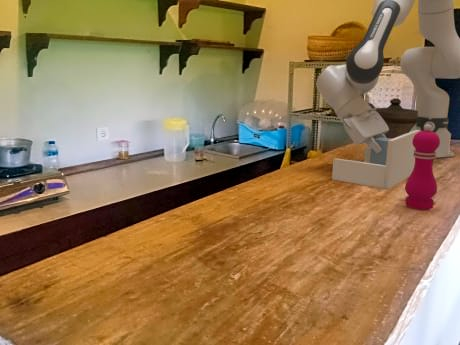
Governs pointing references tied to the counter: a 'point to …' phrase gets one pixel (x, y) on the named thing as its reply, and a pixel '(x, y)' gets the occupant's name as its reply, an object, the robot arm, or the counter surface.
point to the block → (380, 157)
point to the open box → (375, 174)
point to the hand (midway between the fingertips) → (384, 149)
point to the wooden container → (398, 119)
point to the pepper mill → (423, 170)
